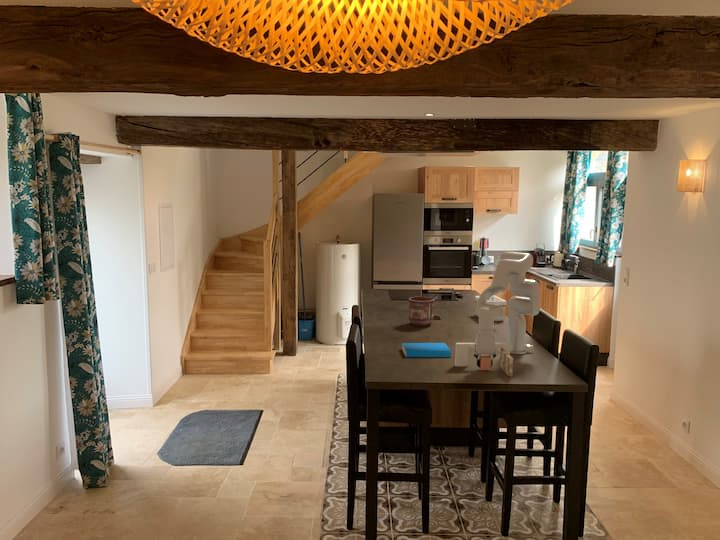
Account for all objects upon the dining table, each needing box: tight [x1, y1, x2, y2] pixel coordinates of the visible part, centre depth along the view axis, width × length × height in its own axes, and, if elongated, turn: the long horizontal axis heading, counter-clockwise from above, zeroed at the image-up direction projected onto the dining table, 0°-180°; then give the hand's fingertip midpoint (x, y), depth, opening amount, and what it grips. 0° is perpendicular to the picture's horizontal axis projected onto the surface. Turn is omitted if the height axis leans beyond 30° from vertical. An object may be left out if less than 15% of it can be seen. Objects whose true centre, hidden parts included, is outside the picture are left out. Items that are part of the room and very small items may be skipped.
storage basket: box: [474, 294, 508, 322], centre depth 415 cm, size 24×16×15 cm
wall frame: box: [454, 342, 511, 367], centre depth 300 cm, size 28×2×12 cm, turn 92°
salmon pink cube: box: [479, 354, 492, 371], centre depth 292 cm, size 5×6×6 cm
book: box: [401, 342, 452, 358], centre depth 324 cm, size 17×4×25 cm
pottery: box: [408, 296, 436, 328], centre depth 391 cm, size 18×18×18 cm
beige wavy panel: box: [499, 348, 514, 377], centre depth 291 cm, size 18×2×10 cm, turn 2°
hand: (484, 366), depth 292 cm, fingers closed on salmon pink cube, 5 cm apart
